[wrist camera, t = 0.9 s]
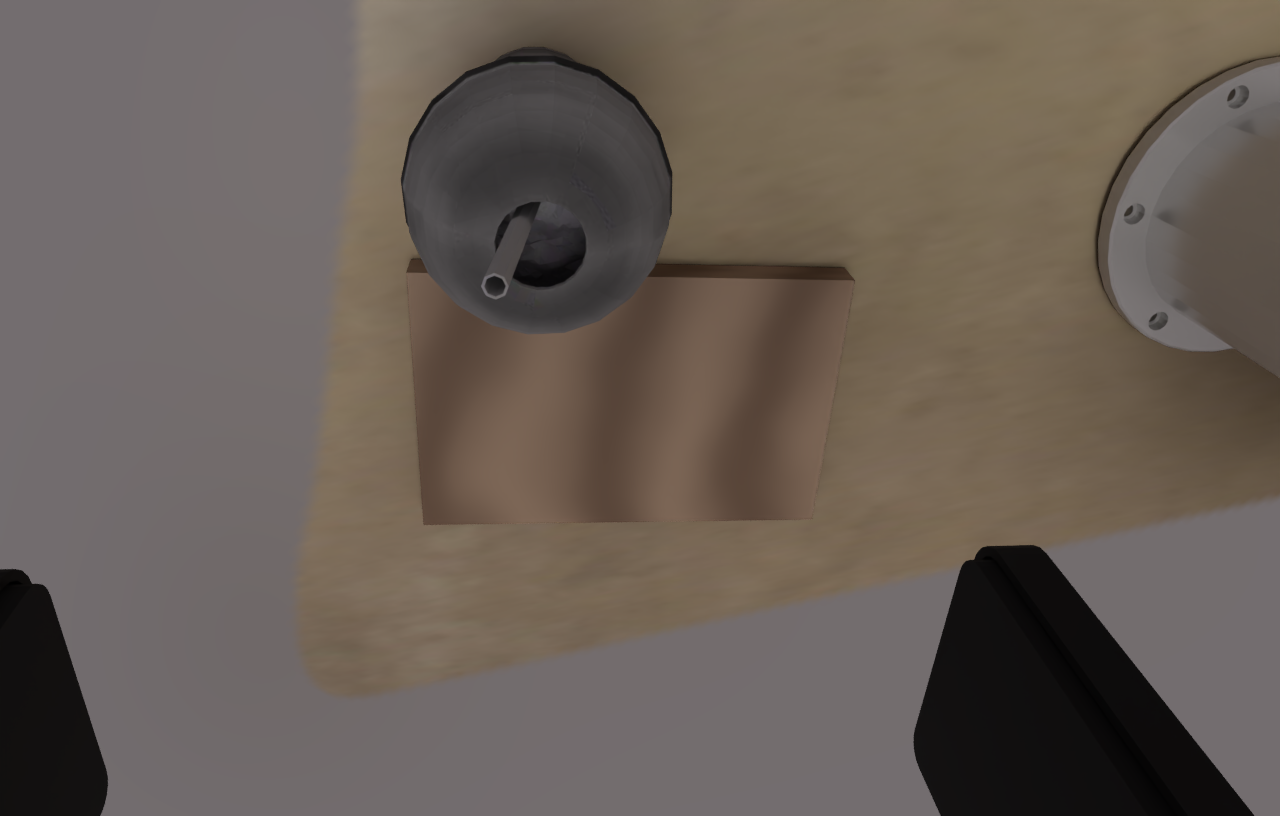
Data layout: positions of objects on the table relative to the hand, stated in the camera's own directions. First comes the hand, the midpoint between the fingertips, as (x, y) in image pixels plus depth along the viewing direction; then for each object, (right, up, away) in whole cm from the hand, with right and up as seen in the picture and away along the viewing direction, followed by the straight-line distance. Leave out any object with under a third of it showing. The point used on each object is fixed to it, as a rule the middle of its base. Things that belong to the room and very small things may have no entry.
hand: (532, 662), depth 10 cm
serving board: (0, +3, +31) cm, 31 cm away
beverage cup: (-3, +14, +25) cm, 29 cm away
